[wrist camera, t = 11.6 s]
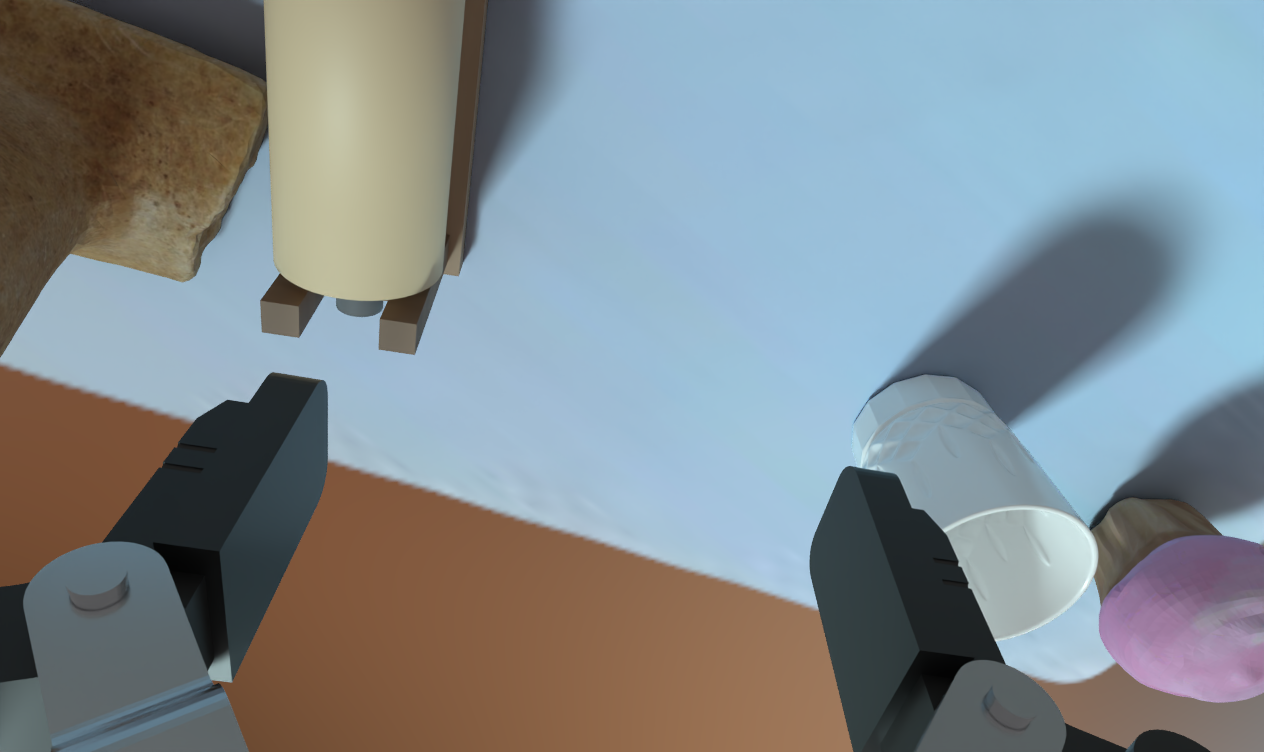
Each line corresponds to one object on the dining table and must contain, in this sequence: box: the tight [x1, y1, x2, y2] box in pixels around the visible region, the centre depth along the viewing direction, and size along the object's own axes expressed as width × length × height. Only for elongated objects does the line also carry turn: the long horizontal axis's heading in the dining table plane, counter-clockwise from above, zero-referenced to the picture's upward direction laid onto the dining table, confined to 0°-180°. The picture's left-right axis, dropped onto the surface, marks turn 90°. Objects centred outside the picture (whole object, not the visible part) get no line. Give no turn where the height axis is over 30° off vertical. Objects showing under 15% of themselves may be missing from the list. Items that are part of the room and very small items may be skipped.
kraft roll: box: [264, 0, 465, 317], centre depth 25 cm, size 6×20×6 cm, turn 169°
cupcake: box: [1091, 497, 1264, 702], centre depth 41 cm, size 9×9×10 cm
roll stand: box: [260, 0, 488, 355], centre depth 26 cm, size 6×21×8 cm, turn 169°
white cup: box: [852, 374, 1099, 642], centre depth 37 cm, size 8×8×10 cm
